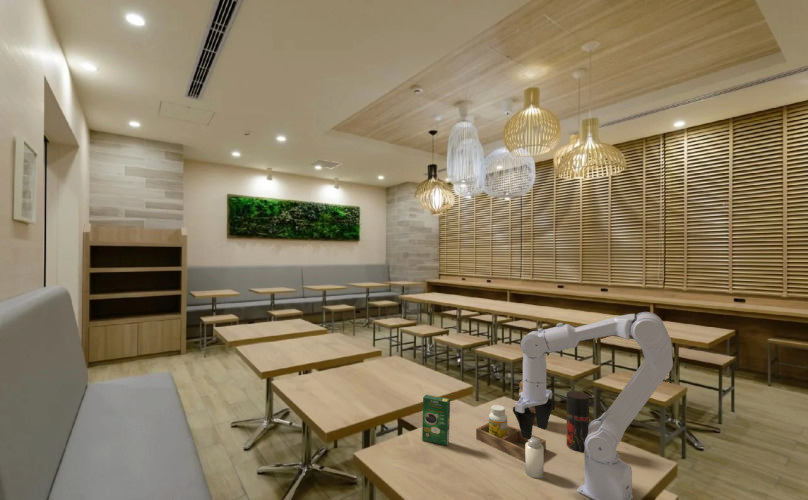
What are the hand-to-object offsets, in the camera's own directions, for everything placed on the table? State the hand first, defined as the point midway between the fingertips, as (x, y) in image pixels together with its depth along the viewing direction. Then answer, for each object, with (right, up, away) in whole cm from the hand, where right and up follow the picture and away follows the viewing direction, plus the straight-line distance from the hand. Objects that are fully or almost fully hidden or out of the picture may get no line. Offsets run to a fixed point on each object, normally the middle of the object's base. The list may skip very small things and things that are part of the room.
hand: (534, 432), depth 95 cm
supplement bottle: (-5, -11, +17) cm, 21 cm away
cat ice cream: (+9, -11, +28) cm, 32 cm away
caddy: (-2, -10, +14) cm, 18 cm away
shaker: (0, -10, 0) cm, 10 cm away
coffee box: (-24, -11, +16) cm, 30 cm away
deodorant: (+17, -11, +13) cm, 24 cm away
